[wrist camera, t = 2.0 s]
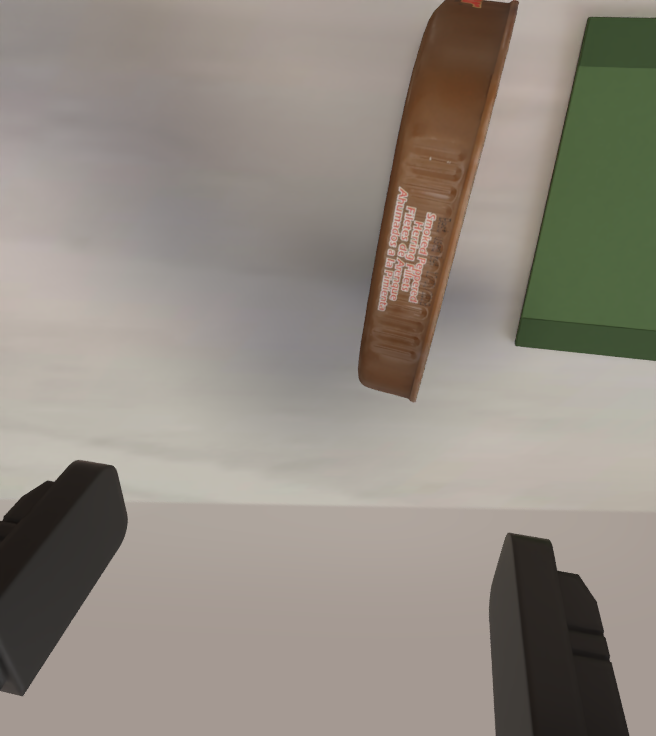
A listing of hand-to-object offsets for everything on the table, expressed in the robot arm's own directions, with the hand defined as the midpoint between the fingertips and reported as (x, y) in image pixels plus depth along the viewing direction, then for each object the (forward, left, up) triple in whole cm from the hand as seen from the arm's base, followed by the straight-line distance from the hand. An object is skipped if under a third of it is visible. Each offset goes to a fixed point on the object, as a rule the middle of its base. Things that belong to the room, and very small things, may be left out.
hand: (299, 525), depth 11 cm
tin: (-2, +2, -18) cm, 19 cm away
